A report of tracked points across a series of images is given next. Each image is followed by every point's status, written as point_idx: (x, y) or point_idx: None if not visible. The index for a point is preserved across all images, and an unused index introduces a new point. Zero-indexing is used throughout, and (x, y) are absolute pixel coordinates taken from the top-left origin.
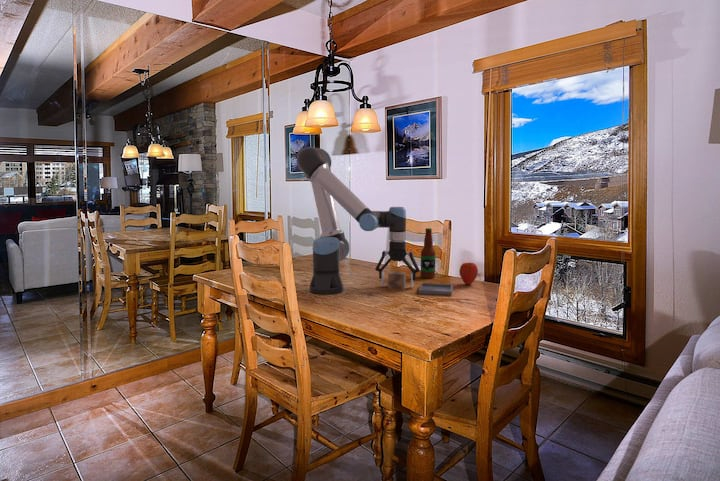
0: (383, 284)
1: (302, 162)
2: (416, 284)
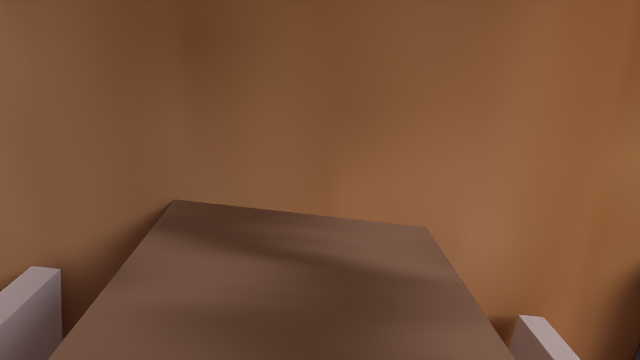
0: (50, 330)
1: None
2: (630, 91)
